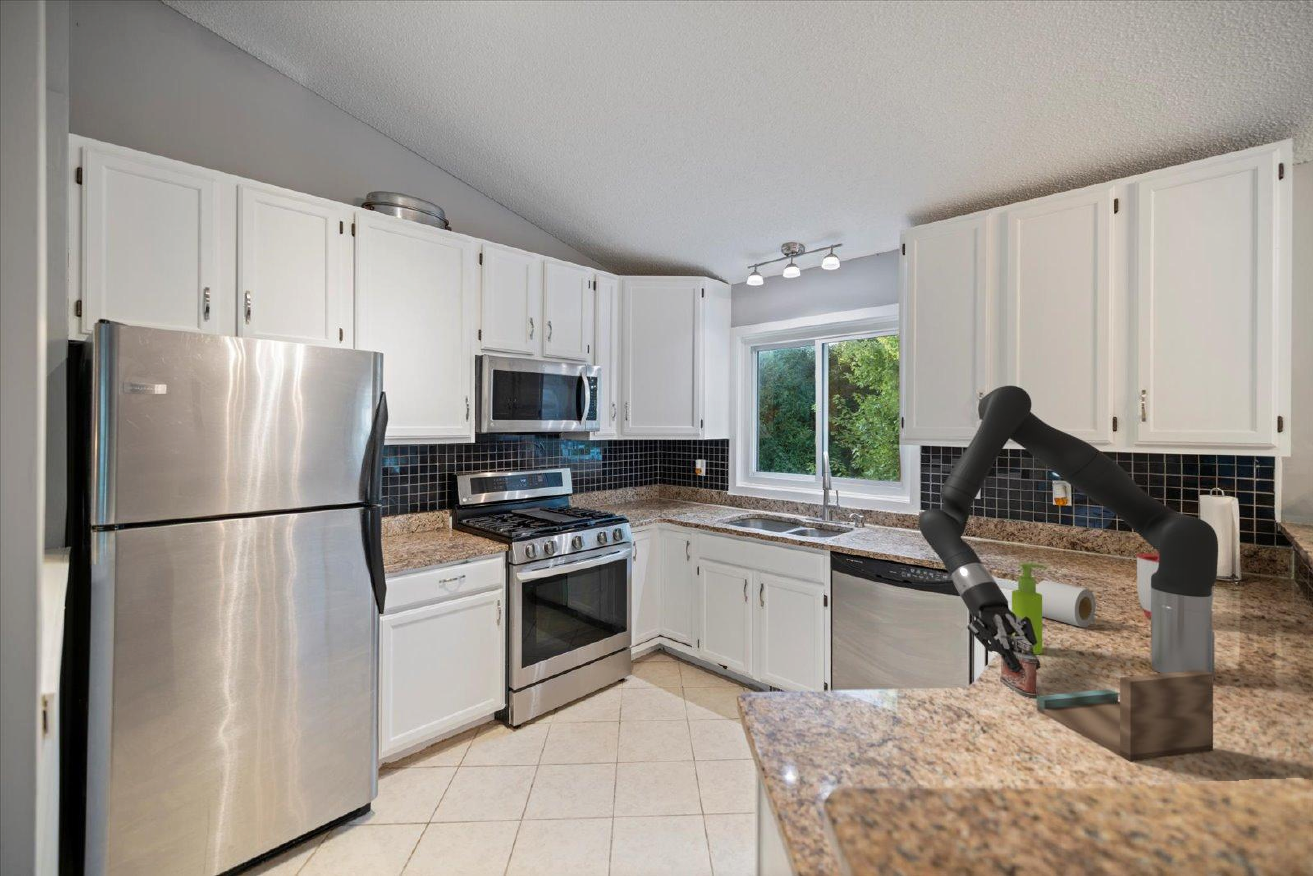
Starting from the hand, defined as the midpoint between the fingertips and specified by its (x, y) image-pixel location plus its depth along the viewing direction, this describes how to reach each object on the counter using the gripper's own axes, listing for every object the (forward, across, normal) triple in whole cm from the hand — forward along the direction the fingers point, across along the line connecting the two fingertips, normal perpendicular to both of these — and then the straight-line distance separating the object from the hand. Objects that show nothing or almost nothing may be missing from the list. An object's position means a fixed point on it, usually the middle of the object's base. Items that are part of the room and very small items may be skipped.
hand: (1027, 669), depth 105 cm
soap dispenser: (-10, +20, +17) cm, 28 cm away
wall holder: (+13, +4, -7) cm, 15 cm away
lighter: (+2, 0, +5) cm, 5 cm away
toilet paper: (-21, +47, +28) cm, 59 cm away
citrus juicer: (-17, +77, +24) cm, 82 cm away
